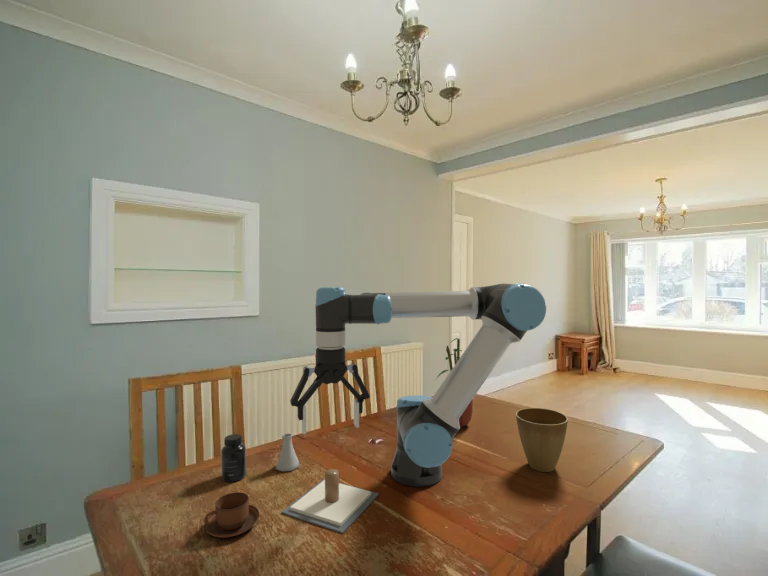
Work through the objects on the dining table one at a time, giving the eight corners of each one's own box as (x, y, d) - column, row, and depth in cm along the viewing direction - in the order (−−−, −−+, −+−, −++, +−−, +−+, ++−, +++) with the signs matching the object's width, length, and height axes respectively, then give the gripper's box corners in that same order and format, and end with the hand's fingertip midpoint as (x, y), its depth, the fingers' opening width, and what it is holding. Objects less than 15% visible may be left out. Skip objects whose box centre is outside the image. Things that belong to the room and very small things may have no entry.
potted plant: (477, 430, 150) (477, 339, 149) (437, 430, 150) (436, 340, 149) (468, 415, 167) (468, 333, 167) (432, 415, 167) (431, 334, 167)
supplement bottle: (225, 472, 119) (225, 432, 118) (248, 470, 119) (248, 431, 119) (218, 483, 112) (217, 442, 112) (242, 482, 112) (242, 441, 112)
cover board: (371, 494, 105) (371, 465, 105) (340, 526, 91) (340, 493, 91) (324, 482, 111) (324, 455, 111) (290, 510, 98) (289, 479, 98)
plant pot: (523, 452, 131) (523, 404, 131) (571, 463, 123) (572, 413, 122) (509, 469, 119) (509, 417, 119) (562, 484, 110) (562, 427, 110)
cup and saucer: (226, 550, 84) (226, 522, 84) (193, 532, 90) (193, 505, 90) (269, 521, 94) (269, 495, 94) (237, 506, 101) (237, 482, 101)
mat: (378, 494, 105) (378, 493, 105) (342, 533, 89) (342, 531, 89) (323, 480, 113) (323, 478, 113) (281, 513, 97) (281, 511, 97)
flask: (293, 473, 117) (293, 440, 117) (271, 471, 119) (270, 438, 119) (303, 462, 125) (302, 431, 124) (282, 460, 126) (281, 429, 126)
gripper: (372, 342, 108) (372, 418, 108) (279, 347, 100) (280, 429, 101) (381, 346, 101) (381, 428, 101) (281, 352, 93) (282, 440, 93)
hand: (330, 429), depth 101 cm, fingers open, 13 cm apart
